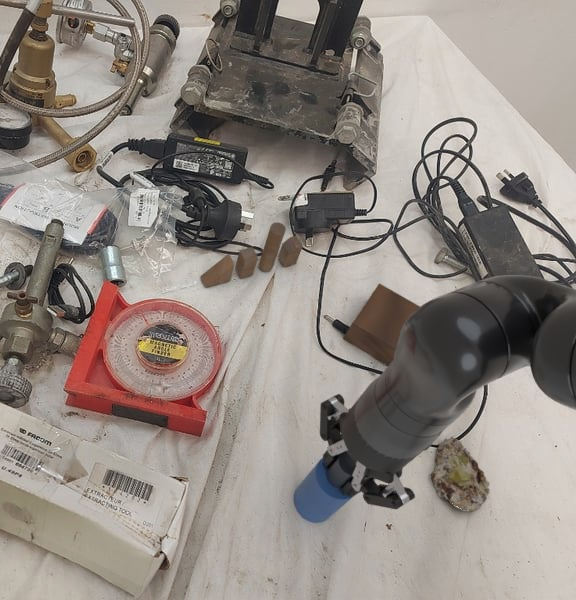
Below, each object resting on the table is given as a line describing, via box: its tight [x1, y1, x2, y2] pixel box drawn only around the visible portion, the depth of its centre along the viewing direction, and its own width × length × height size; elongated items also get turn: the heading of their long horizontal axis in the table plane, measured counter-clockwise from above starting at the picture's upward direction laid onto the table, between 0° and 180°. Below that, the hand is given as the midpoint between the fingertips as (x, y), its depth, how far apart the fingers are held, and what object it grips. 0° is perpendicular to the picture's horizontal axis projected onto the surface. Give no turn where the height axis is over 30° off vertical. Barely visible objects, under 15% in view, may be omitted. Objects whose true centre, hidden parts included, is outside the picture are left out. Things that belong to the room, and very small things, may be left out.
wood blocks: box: [161, 221, 304, 294], centre depth 96 cm, size 25×3×10 cm, turn 111°
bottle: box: [293, 451, 356, 523], centre depth 73 cm, size 6×6×16 cm
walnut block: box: [343, 283, 421, 367], centre depth 94 cm, size 10×10×5 cm
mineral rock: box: [430, 436, 491, 513], centre depth 82 cm, size 11×4×8 cm
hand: (339, 475), depth 70 cm, fingers closed on bottle, 3 cm apart
